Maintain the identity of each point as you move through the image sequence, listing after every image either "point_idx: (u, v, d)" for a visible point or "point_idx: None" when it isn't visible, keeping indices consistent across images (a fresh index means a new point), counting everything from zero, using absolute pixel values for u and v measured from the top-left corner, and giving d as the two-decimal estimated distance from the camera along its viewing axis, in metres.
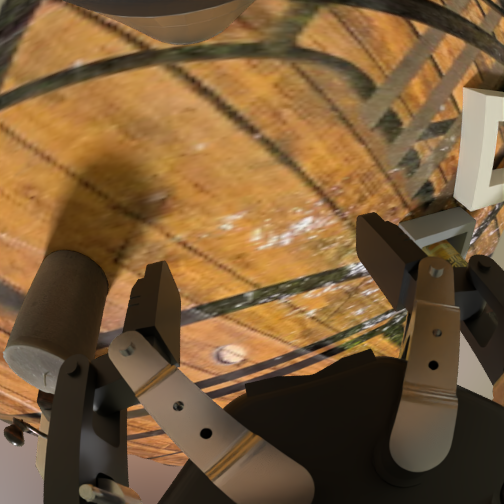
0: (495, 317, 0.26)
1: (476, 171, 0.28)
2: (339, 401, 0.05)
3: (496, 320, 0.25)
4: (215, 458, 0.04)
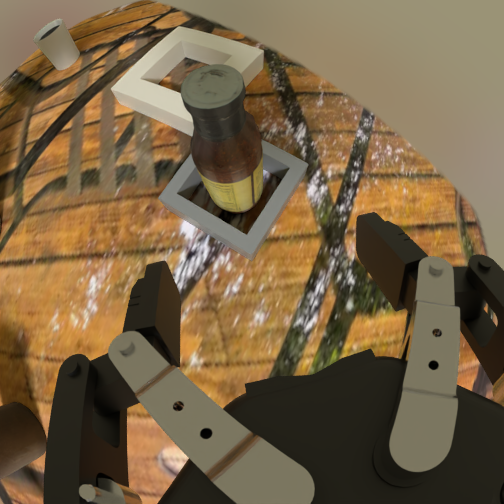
0: None
1: (160, 109, 0.34)
2: (339, 401, 0.05)
3: None
4: (215, 458, 0.04)
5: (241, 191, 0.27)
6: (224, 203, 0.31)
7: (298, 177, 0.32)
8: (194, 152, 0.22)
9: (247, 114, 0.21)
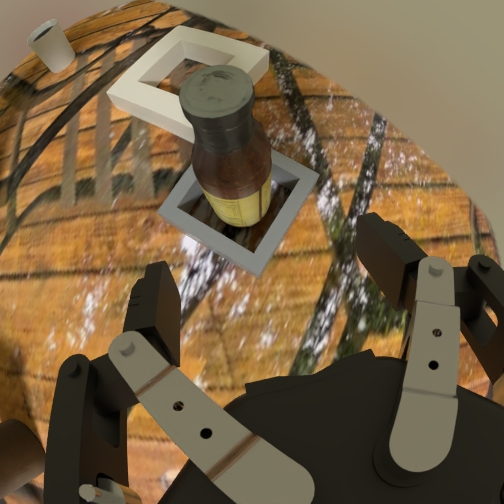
0: None
1: (159, 114, 0.32)
2: (339, 401, 0.05)
3: None
4: (215, 458, 0.04)
5: (248, 206, 0.25)
6: (229, 218, 0.28)
7: (309, 189, 0.29)
8: (195, 166, 0.19)
9: (255, 122, 0.19)
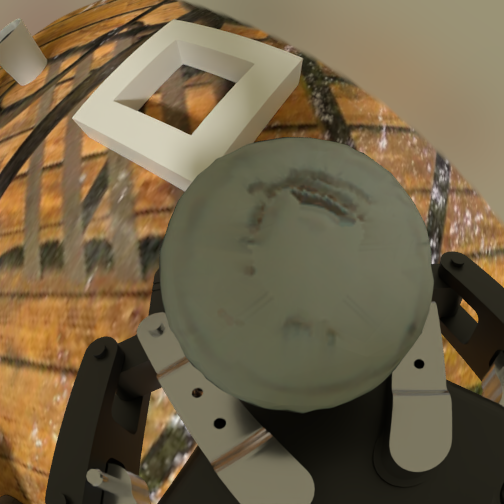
0: None
1: (143, 156, 0.22)
2: None
3: None
4: (224, 449, 0.04)
5: None
6: None
7: None
8: None
9: None
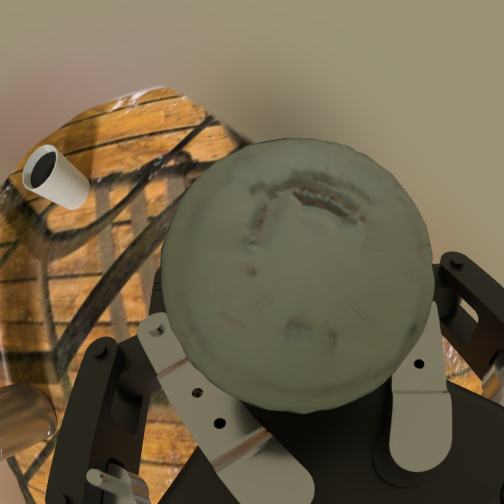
0: None
1: None
2: None
3: None
4: (224, 449, 0.04)
5: None
6: None
7: None
8: None
9: None
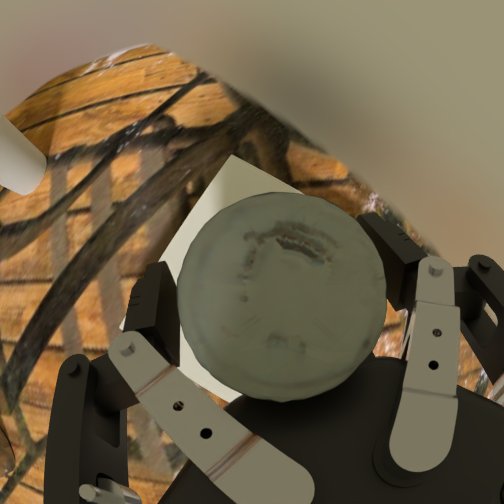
0: None
1: None
2: (339, 401, 0.05)
3: None
4: (215, 458, 0.04)
5: None
6: None
7: None
8: None
9: None
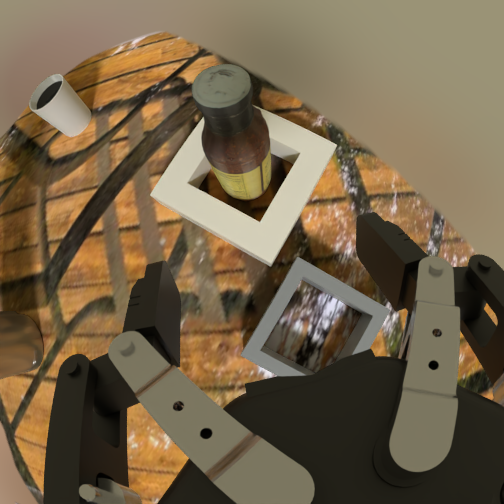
0: None
1: (224, 237, 0.32)
2: (339, 401, 0.05)
3: None
4: (215, 458, 0.04)
5: (251, 180, 0.29)
6: (235, 192, 0.32)
7: (380, 326, 0.30)
8: (206, 146, 0.23)
9: (255, 109, 0.22)
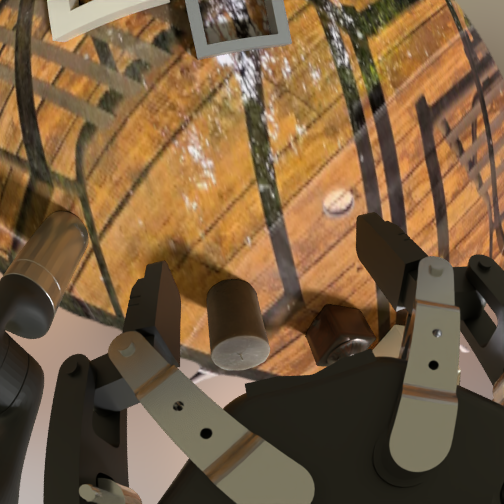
0: None
1: (122, 9, 0.25)
2: (339, 401, 0.05)
3: None
4: (215, 458, 0.04)
5: None
6: None
7: None
8: None
9: None
